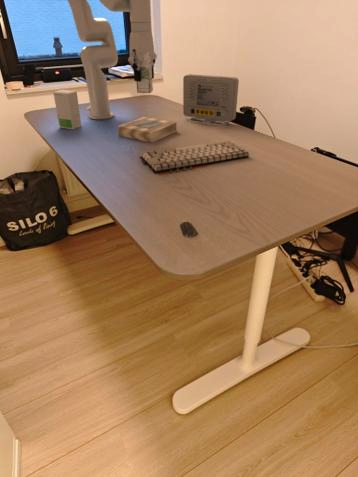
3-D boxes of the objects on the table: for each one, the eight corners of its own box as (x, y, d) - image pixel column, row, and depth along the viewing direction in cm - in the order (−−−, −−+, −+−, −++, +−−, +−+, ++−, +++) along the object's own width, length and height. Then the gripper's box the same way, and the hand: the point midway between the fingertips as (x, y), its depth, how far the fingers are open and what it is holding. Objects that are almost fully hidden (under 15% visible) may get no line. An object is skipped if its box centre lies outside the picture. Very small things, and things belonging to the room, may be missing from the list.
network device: (236, 122, 160) (240, 76, 149) (230, 127, 154) (233, 79, 142) (188, 116, 170) (189, 73, 159) (180, 121, 164) (180, 75, 152)
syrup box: (153, 90, 140) (151, 50, 132) (150, 93, 135) (148, 52, 127) (139, 90, 140) (137, 50, 132) (136, 93, 136) (133, 52, 127)
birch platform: (118, 135, 145) (117, 125, 143) (144, 125, 158) (144, 116, 155) (151, 142, 137) (151, 132, 134) (176, 131, 149) (176, 121, 147)
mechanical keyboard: (226, 144, 136) (226, 136, 134) (252, 160, 121) (253, 151, 120) (137, 159, 123) (136, 150, 122) (155, 179, 109) (154, 169, 107)
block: (190, 227, 85) (191, 221, 84) (198, 238, 80) (199, 232, 79) (177, 228, 84) (178, 221, 83) (184, 239, 79) (185, 232, 78)
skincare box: (59, 127, 156) (51, 91, 147) (68, 124, 161) (61, 89, 152) (74, 129, 153) (67, 93, 144) (82, 125, 158) (76, 90, 149)
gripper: (147, 27, 133) (150, 76, 143) (117, 28, 121) (122, 82, 131) (163, 27, 129) (164, 77, 139) (133, 29, 117) (137, 84, 127)
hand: (144, 79), depth 135 cm, fingers closed on syrup box, 7 cm apart
